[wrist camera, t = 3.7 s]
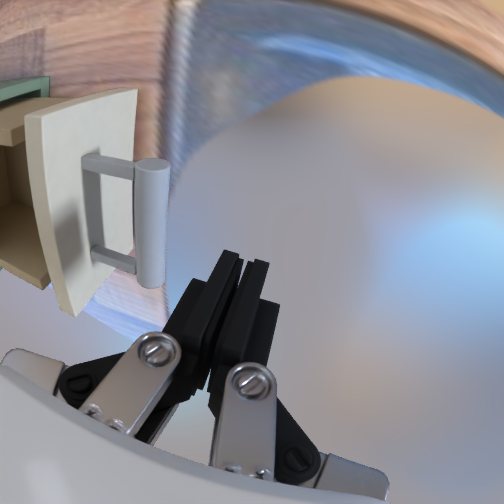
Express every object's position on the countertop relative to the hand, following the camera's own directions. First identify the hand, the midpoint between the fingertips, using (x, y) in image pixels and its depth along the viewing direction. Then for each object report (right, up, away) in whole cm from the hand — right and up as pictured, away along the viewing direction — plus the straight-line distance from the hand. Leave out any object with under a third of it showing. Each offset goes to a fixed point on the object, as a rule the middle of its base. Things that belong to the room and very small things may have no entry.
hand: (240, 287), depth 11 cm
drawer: (-10, +7, +5) cm, 13 cm away
